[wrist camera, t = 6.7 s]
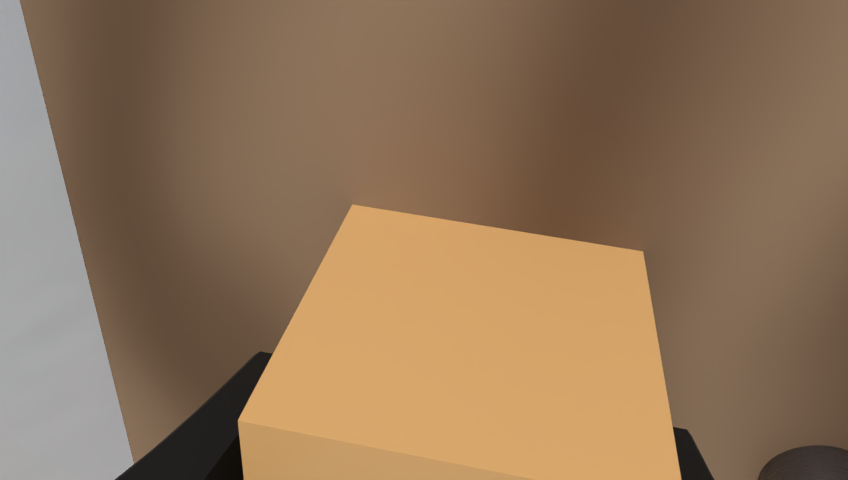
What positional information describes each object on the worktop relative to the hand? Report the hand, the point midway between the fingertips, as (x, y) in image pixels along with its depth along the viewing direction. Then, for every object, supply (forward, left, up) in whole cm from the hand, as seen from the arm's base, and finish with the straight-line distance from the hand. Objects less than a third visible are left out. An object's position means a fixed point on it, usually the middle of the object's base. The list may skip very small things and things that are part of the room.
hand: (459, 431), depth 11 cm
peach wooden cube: (0, 0, -2) cm, 2 cm away
